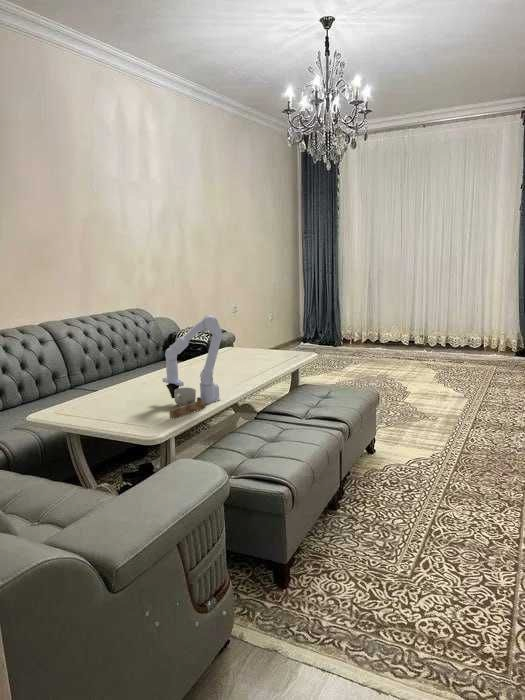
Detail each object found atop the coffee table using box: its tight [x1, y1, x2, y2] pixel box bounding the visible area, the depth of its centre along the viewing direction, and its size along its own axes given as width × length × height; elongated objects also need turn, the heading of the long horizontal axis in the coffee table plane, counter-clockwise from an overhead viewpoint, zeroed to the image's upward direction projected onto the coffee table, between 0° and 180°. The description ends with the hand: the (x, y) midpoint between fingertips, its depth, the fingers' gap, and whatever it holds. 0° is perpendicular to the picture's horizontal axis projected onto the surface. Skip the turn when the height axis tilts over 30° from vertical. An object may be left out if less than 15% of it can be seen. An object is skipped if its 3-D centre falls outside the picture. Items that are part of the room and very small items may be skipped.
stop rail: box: [169, 396, 206, 420], centre depth 258 cm, size 20×4×5 cm, turn 137°
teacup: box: [173, 387, 197, 407], centre depth 268 cm, size 14×11×8 cm
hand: (173, 397), depth 273 cm, fingers closed
